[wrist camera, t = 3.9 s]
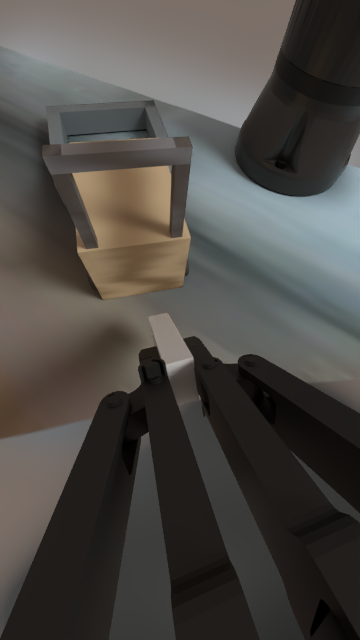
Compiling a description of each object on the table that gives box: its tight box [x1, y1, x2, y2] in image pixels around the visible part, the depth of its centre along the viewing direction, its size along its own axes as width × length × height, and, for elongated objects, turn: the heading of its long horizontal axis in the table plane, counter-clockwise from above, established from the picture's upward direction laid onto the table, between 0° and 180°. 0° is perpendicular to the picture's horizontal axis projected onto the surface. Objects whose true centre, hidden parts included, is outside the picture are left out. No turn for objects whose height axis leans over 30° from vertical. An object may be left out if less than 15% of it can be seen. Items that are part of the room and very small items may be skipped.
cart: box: [42, 137, 192, 300], centre depth 18 cm, size 9×12×13 cm
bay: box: [46, 100, 172, 205], centre depth 28 cm, size 14×14×2 cm
